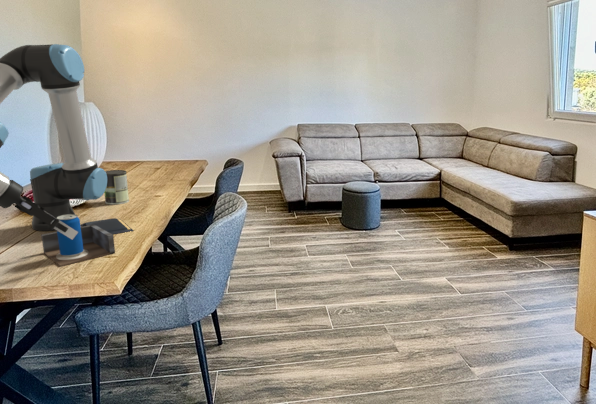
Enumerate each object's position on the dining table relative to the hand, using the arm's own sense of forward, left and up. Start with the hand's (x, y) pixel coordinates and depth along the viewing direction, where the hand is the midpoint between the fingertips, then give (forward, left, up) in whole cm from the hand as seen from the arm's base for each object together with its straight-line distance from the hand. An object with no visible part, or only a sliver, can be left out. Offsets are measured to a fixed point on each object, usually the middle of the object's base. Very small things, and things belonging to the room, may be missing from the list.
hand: (67, 230), depth 135 cm
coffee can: (-60, +39, -9) cm, 72 cm away
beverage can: (0, +1, -8) cm, 8 cm away
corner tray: (-2, +3, -8) cm, 9 cm away
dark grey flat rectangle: (-23, +20, -9) cm, 32 cm away
